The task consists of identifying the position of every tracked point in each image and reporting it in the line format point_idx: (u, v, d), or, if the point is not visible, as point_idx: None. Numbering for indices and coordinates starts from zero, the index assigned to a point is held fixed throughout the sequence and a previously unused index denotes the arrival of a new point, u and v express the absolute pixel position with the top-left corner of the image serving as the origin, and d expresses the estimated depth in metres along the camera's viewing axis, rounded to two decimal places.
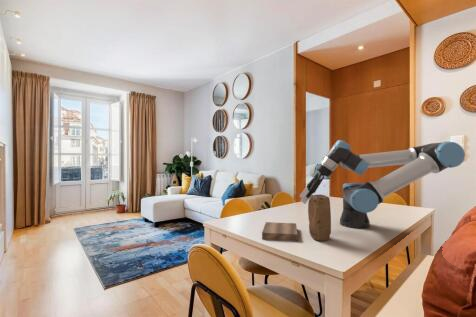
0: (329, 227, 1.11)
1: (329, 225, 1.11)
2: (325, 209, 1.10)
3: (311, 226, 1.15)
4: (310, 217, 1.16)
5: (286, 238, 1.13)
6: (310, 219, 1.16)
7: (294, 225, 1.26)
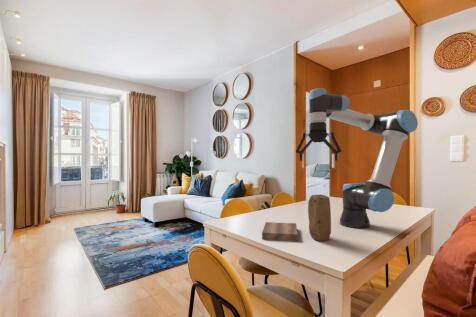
0: (329, 227, 1.11)
1: (329, 225, 1.11)
2: (325, 209, 1.10)
3: (311, 226, 1.15)
4: (310, 217, 1.16)
5: (286, 238, 1.13)
6: (310, 219, 1.16)
7: (294, 225, 1.26)
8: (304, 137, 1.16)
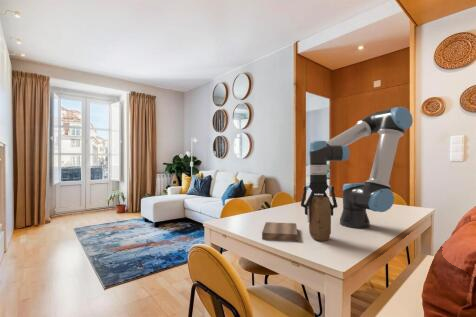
0: (329, 227, 1.11)
1: (329, 225, 1.11)
2: (324, 209, 1.10)
3: (311, 226, 1.15)
4: (310, 217, 1.16)
5: (286, 238, 1.13)
6: (310, 219, 1.16)
7: (294, 225, 1.26)
8: (305, 190, 1.15)
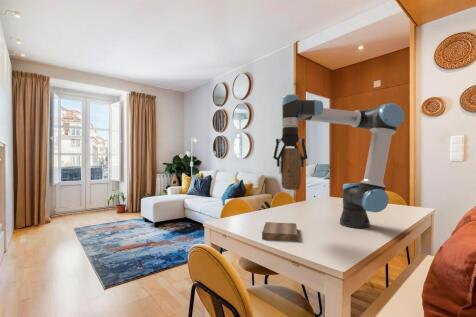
0: (299, 176, 1.16)
1: (299, 175, 1.16)
2: (295, 159, 1.15)
3: (282, 177, 1.20)
4: (282, 169, 1.20)
5: (286, 238, 1.13)
6: (282, 171, 1.20)
7: (294, 225, 1.26)
8: (278, 143, 1.20)
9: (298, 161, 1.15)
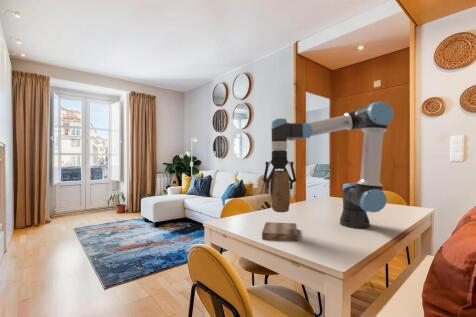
0: (287, 199, 1.18)
1: (287, 197, 1.18)
2: (283, 182, 1.17)
3: (272, 199, 1.22)
4: (271, 191, 1.23)
5: (286, 238, 1.13)
6: (271, 193, 1.23)
7: (294, 225, 1.26)
8: (267, 165, 1.22)
9: (287, 184, 1.18)
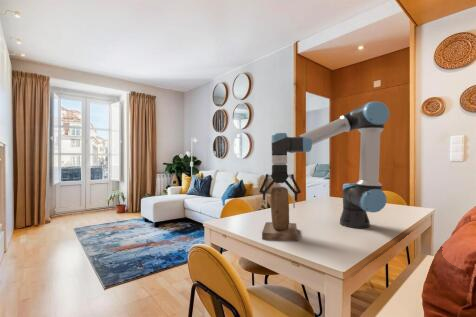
0: (287, 217, 1.18)
1: (287, 215, 1.18)
2: (282, 200, 1.17)
3: (272, 216, 1.22)
4: (271, 208, 1.23)
5: (286, 238, 1.13)
6: (271, 210, 1.23)
7: (294, 225, 1.26)
8: (267, 178, 1.23)
9: (286, 202, 1.18)
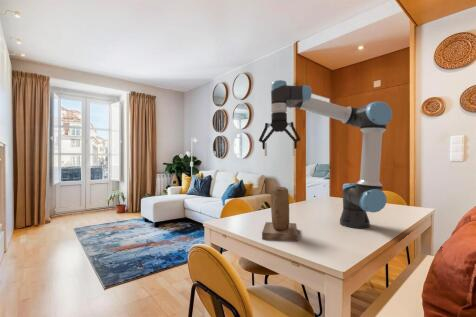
0: (287, 217, 1.18)
1: (287, 215, 1.18)
2: (283, 200, 1.17)
3: (272, 216, 1.22)
4: (271, 208, 1.23)
5: (286, 238, 1.13)
6: (271, 210, 1.23)
7: (294, 225, 1.26)
8: (266, 127, 1.23)
9: (286, 202, 1.18)
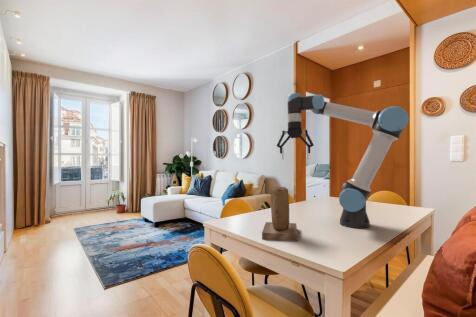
0: (287, 217, 1.18)
1: (287, 215, 1.18)
2: (283, 200, 1.17)
3: (272, 216, 1.22)
4: (271, 208, 1.23)
5: (286, 238, 1.13)
6: (271, 210, 1.23)
7: (294, 225, 1.26)
8: (283, 134, 1.40)
9: (286, 202, 1.18)
